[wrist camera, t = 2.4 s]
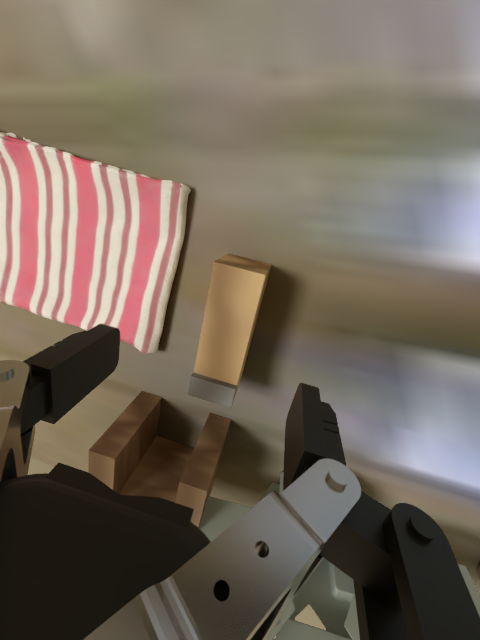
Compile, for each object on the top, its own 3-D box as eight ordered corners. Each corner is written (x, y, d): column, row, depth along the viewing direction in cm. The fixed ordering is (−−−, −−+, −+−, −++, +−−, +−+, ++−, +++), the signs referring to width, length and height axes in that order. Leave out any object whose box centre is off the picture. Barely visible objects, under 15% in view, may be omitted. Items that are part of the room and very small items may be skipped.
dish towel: (-35, 117, 26) (-81, 103, 23) (197, 186, 24) (181, 181, 21) (-18, 286, 33) (-52, 294, 29) (165, 350, 31) (150, 366, 28)
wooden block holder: (231, 419, 32) (184, 560, 19) (217, 470, 35) (170, 621, 22) (141, 391, 33) (39, 505, 20) (136, 442, 36) (45, 571, 23)
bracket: (195, 473, 35) (86, 753, 17) (199, 429, 33) (74, 704, 14) (426, 533, 32) (606, 973, 13) (450, 490, 29) (717, 962, 11)
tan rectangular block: (271, 264, 25) (264, 276, 20) (242, 374, 30) (230, 408, 24) (229, 253, 25) (211, 262, 20) (207, 363, 30) (188, 394, 25)
